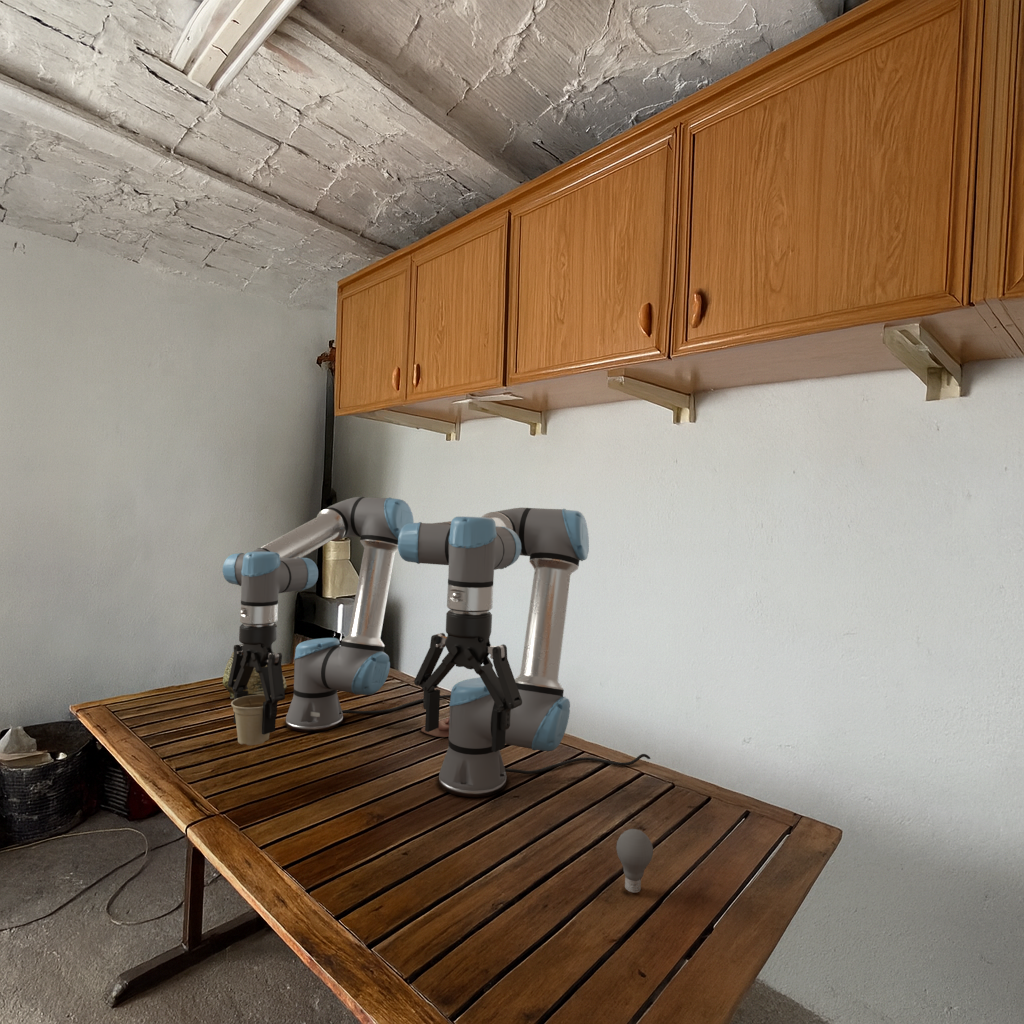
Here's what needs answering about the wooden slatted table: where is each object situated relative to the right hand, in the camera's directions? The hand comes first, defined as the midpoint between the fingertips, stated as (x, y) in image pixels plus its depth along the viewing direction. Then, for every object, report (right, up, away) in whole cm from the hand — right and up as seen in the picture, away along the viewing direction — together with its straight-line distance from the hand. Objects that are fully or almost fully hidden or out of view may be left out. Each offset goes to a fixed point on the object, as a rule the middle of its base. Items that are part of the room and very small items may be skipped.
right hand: (463, 738), depth 104 cm
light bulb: (+28, -26, +1) cm, 38 cm away
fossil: (-73, -20, +94) cm, 120 cm away
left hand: (-48, -9, +32) cm, 59 cm away
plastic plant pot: (-48, -12, +32) cm, 59 cm away
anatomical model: (-10, -23, +71) cm, 75 cm away
